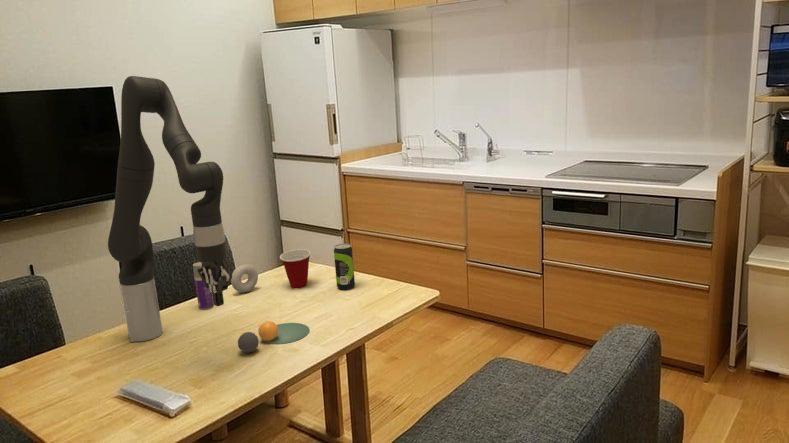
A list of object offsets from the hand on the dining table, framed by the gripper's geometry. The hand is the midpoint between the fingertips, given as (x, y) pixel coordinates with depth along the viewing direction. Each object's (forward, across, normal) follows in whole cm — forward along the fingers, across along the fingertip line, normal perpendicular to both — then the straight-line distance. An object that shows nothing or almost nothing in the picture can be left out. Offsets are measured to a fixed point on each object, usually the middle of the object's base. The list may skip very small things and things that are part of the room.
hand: (218, 304), depth 158 cm
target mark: (+15, -1, -19) cm, 24 cm away
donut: (+15, +38, -34) cm, 53 cm away
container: (+15, +38, -18) cm, 44 cm away
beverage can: (+15, +11, -56) cm, 59 cm away
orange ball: (+12, -1, -14) cm, 18 cm away
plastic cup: (+15, +27, -48) cm, 57 cm away
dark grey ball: (+12, -2, -6) cm, 14 cm away
